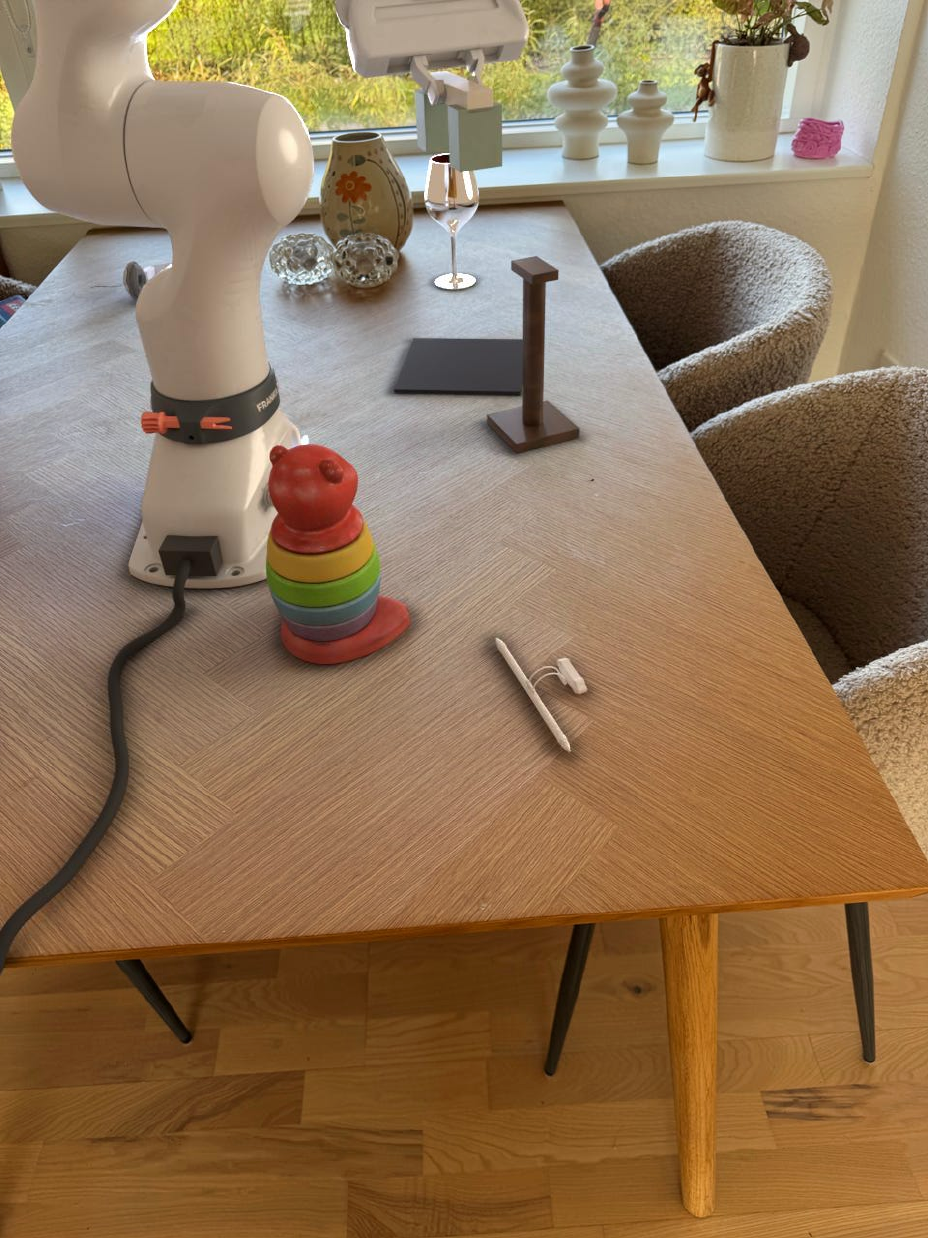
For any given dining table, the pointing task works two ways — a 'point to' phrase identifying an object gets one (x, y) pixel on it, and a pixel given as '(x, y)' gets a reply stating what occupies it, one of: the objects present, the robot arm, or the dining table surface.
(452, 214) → the wineglass
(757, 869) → the dining table surface
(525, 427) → the stand
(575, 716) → the dining table surface
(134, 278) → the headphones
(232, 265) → the robot arm
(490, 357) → the desk mat
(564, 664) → the picture light
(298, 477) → the stacking bear
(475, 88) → the sage green twin blocks
